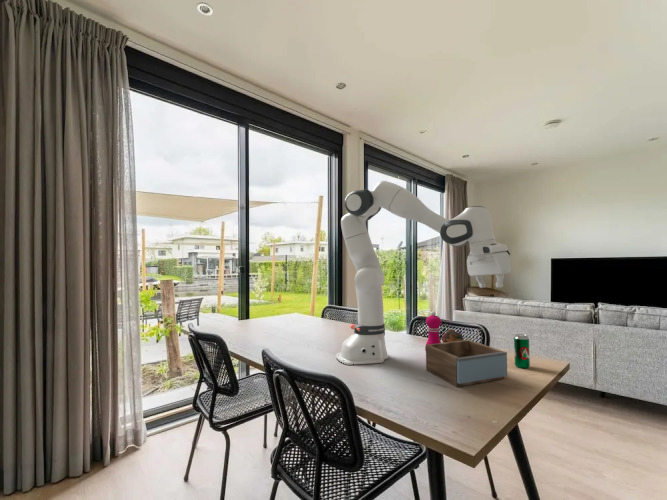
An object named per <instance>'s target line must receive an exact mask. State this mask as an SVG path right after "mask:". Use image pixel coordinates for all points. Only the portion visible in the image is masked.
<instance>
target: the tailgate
mask: <svg viewBox="0 0 667 500" xmlns="http://www.w3.org/2000/svg"><path fill="white" fill-rule="evenodd" d="M502 351H503V352H496V353H489V354H482V355H474V356H467V357H460V358H456V361H457V383H459V384H462V383H468V382H474V381H480V380H485V379H491V378H497V377H503V376H504V377H507V376H508V352H507V351H504V350H502Z"/></svg>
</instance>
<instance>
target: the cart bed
mask: <svg viewBox="0 0 667 500" xmlns="http://www.w3.org/2000/svg"><path fill="white" fill-rule="evenodd" d="M425 346H426V351H425V368H426V369H425V371H427V372H429V373H431V374H432V375H434V376H436V377H438V378H440V379H442V380H443V381H445V382H447V383H449V384H450V385H452V386H454V387H456V388H457V387H463V386H469V385H474V384H475V385H476V384H481V383H486V382H493V381H497V380H503V379H505V376H503V377H497V378H491V379H485V380H480V381H474V382H468V383H462V384H459V383H457V361H456V358H460V357H467V356H474V355H482V354H489V353H496V352H503V351H504V350H501V349H498V348H495V347H492V346H489V345H486V344H483V343H480V342H477V341H474V340H471V339H464V340H462V341H454V342H445V343H443V342H441V343H437V344H429V345H426V344H425Z"/></svg>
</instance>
